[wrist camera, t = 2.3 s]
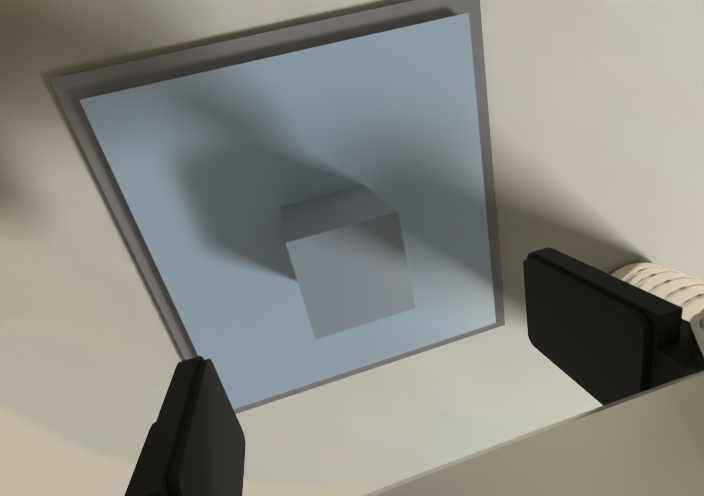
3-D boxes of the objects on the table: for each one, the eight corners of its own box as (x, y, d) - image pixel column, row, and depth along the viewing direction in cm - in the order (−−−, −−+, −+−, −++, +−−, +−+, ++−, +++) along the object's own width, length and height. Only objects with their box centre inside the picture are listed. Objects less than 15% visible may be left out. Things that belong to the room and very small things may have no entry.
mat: (55, 80, 15) (48, 79, 15) (472, -11, 17) (478, -14, 17) (215, 414, 22) (214, 420, 21) (500, 320, 24) (504, 324, 24)
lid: (88, 100, 15) (-8, 96, 10) (460, 16, 17) (549, -26, 12) (225, 401, 21) (212, 500, 16) (488, 316, 23) (555, 378, 18)
